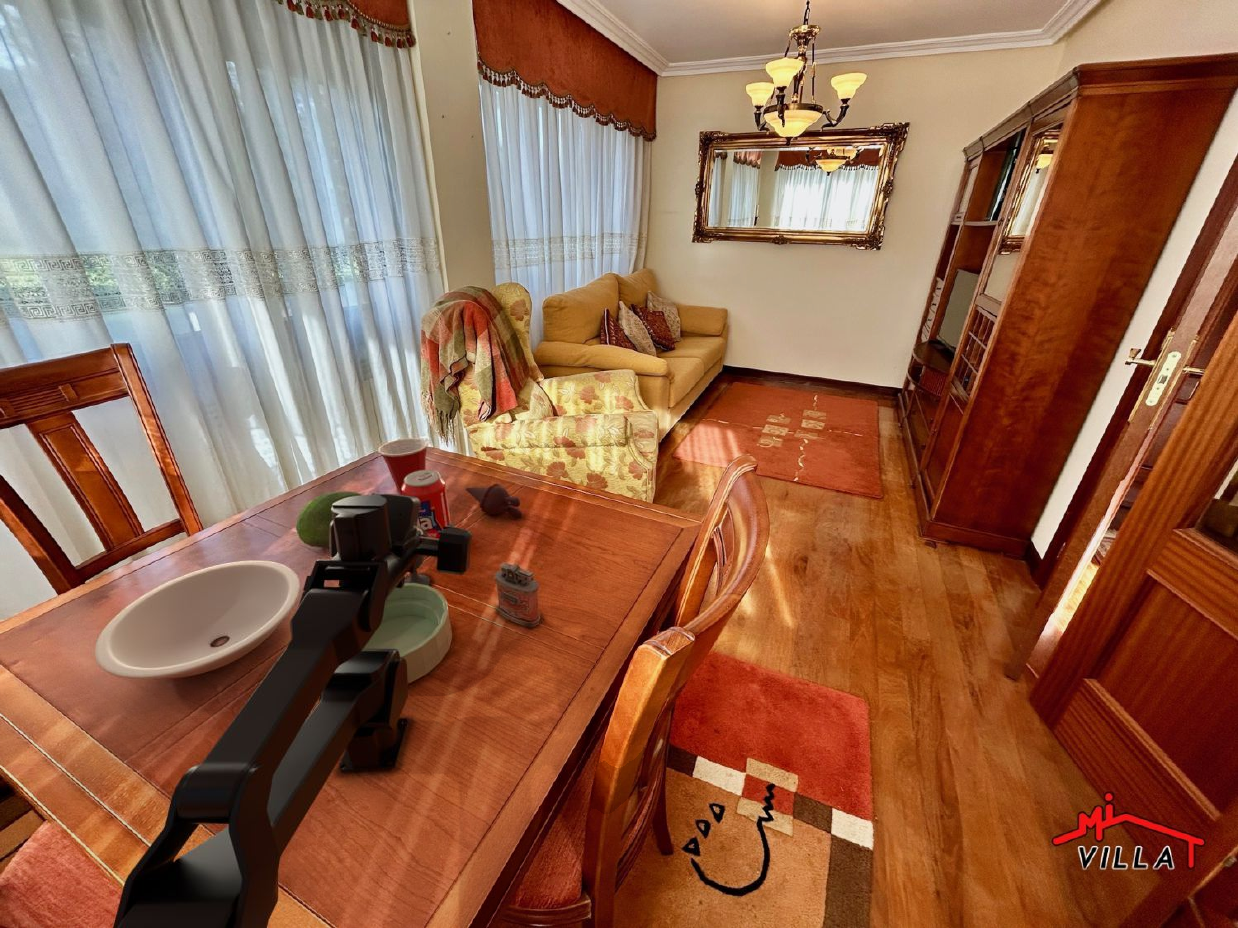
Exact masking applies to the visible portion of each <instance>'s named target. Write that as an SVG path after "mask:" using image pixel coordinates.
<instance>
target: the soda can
mask: <svg viewBox="0 0 1238 928" xmlns="http://www.w3.org/2000/svg"><path fill="white" fill-rule="evenodd" d="M402 494H403V495H404V496H412V497H417V498H418V499H419V500H420V502H421V506H420V509H419V515H418V522H417V527H419V528H422V529H424V530H425V531H426V532H427V534H428V537H427V538H435V539H439V537H440V533H441V532H442V530H443V527H444V526H445V527H448V525H449V524H450V523H452V521H451V516H450V508H449V507H450V506H449V501H448V493H447V486H446V482H445V480H444V479H443V478H442V476H441V474H440V473H439V471H437V470H434V469H425V470H419V471H415V472H412V473H410V474H408V475H407V476H406V477H405V478H404V484H403V485H402ZM427 544H428V543H427ZM436 545H437V544H436Z"/></svg>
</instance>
